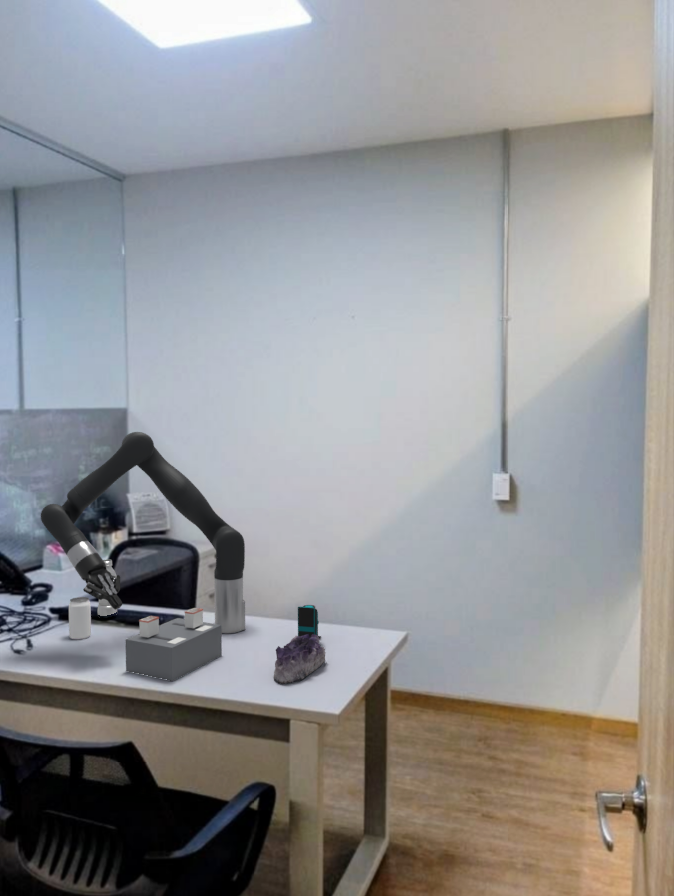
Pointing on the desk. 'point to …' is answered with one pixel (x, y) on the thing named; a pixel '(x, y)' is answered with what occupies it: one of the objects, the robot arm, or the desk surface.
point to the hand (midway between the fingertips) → (119, 607)
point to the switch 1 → (149, 626)
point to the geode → (298, 659)
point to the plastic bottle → (104, 605)
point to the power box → (173, 649)
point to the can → (79, 618)
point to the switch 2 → (193, 617)
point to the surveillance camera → (308, 620)
